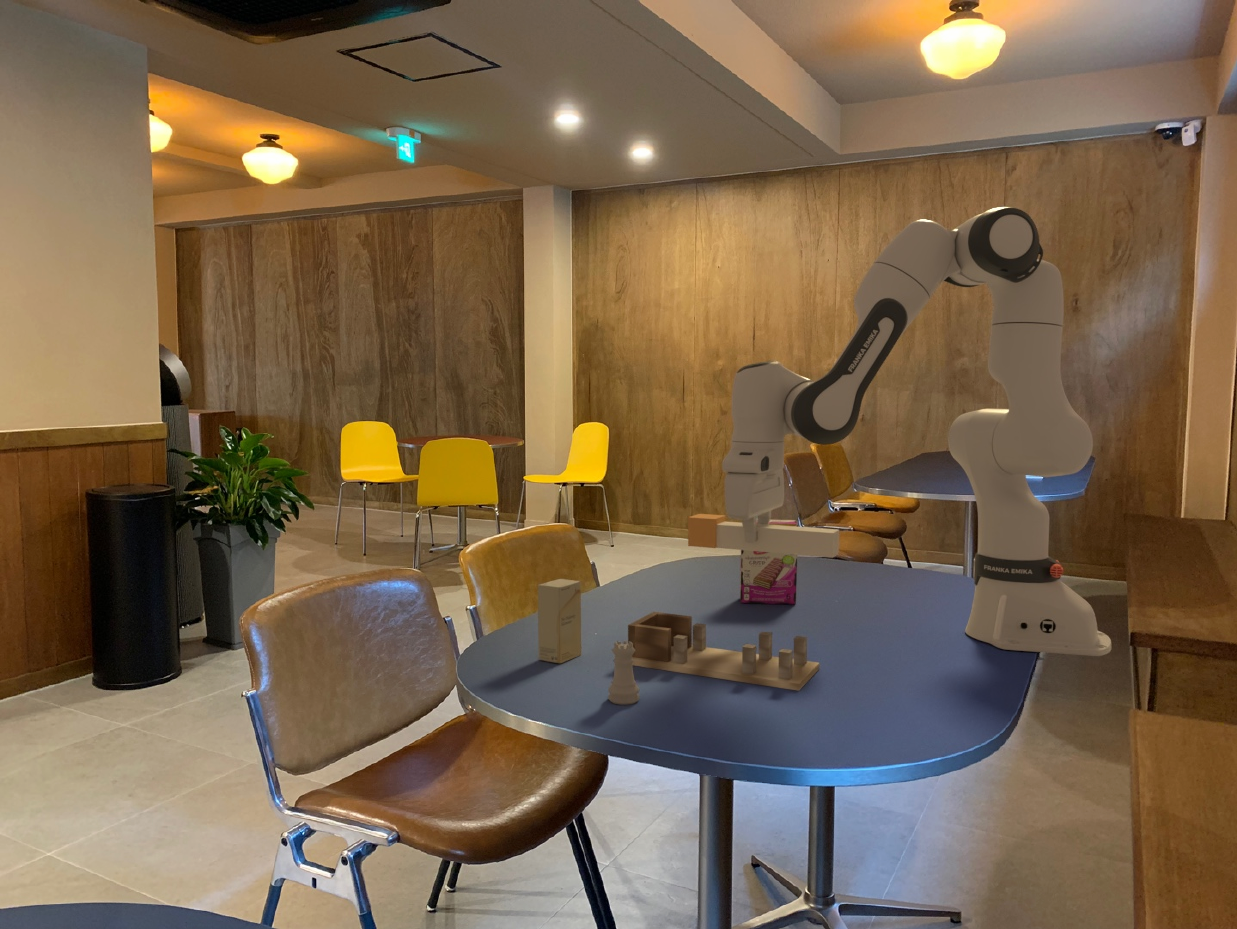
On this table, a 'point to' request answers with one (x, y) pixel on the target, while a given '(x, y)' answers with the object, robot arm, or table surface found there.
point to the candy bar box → (768, 574)
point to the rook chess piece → (623, 676)
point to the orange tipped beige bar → (762, 537)
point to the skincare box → (559, 620)
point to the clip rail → (716, 654)
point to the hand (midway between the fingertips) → (756, 539)
